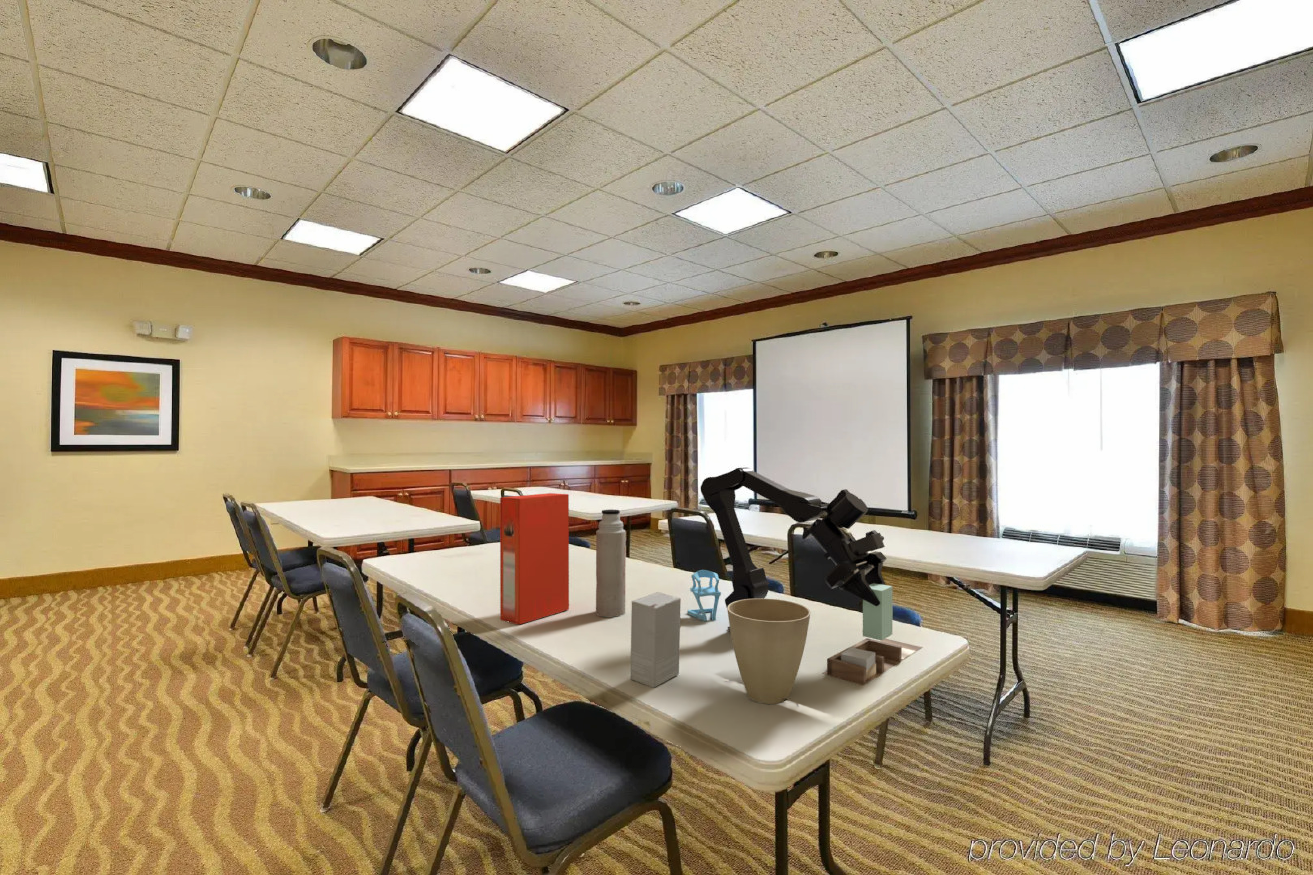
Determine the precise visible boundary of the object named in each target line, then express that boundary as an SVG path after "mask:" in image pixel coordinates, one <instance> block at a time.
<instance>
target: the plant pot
mask: <svg viewBox="0 0 1313 875" xmlns="http://www.w3.org/2000/svg"><path fill="white" fill-rule="evenodd" d="M726 609H727V616H728V624H729V627H730V630H729V631H730V637H731V641H732V647H733V652H734V656H735V660H736V663H737V666H738V672H739V674H740V676H741V681H742V683H743V687H744V690H745V692H746V694H747V696H748V698H749V699H750V700H752V701H754V702H756V703H760V704H765V705H777V704H783V703H785V702H786V701H787V699H788V698H787V697H788V696H790V695H791V692H792V690H793V687H794V684H795V682H796V678H797V675H798V672H799V669H800V666H801V662H802V658H803V655H804V650H805V648H806V647H805V646H806V644H807V643H806V642H807V637H808V631H809V625H810V617H811V611H810V609H809V608H807V607H806V606H804V605H803V604H801V603H798V602H797V603H796V602H793V601H791V600H790V601H789V600H784V599H777V598H764V599H760V598H756V599H744V600H739V601H735V602H732V603H731V604H729V605H728V607H726Z"/></svg>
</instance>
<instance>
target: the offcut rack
mask: <svg viewBox="0 0 1313 875" xmlns="http://www.w3.org/2000/svg"><path fill="white" fill-rule="evenodd" d="M850 647H852V648H856V649H861V650H866V651H870V652H875V663H876V674H875V675H873V676H872V677H870V678H868V679H867V680H866V667H863V666H859V665H856V664H852V663H848V662H845V661H841V654H842V653H843V652H844V651H846V650H847V649H849V648H850ZM921 649H924V648H923V646H919V645H915V644H909V643H906V642H902V641H897V640H894V639H888V638H885V639H884V640H877V639H873V638H869V637H865V638H864V639H862V640H861V641H859V642H857V643H855V644H853V645H851V646H848V647H847V648H845V649H843V650H841V651H840V652H837V653H836V654H834V655H832V656H830V657H828V658H827V659H826V670H825V671H823V672H822V673H821V674H823V675H826V676H830V677H833V678H836V679H839V680H844V681H847V682H849V683H853V684H857V685H861V686H864V685H866V684H867V683H869V682H871V681H872V680H874V679H876V678H877V677H879V676H880V675H882V674H883V673H886V672H887V671H889V670H890V669H892V668H893V667H895V666H896V665H897V664H899V663H901V662H902V661H904V660H906V659H908V657H910V656H912V655H913V654H915V653H916V652H918V651H920V650H921Z"/></svg>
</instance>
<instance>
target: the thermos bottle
mask: <svg viewBox="0 0 1313 875" xmlns="http://www.w3.org/2000/svg"><path fill="white" fill-rule="evenodd" d="M620 512H621V510H619V509H602V510H601V514H602V516H601V521H599V522H598V527H597V528H598V529H597V530H596V531H595V534H596V536H595V538H596V539H595V540H596V541H595V544H596V546H595V548H596V549H595V552H596V554H595V557H596V558H595V566H596V567H595V578H596V579H595V580H596V588H595V589H596V590H595V614H596V615H597V616H599V617H603V616H607V617H606V618H614V617H613V616H617V617H621V616H624V615H625V614H626V551H627V550H626V545H627V543H626V537H627V536H626V534H627V533H626V530H625V529H624V522H623V521H622V520H621V515H620Z"/></svg>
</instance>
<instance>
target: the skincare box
mask: <svg viewBox="0 0 1313 875" xmlns="http://www.w3.org/2000/svg"><path fill="white" fill-rule="evenodd" d="M681 604H682V603H681V598H680V597H677V596H673V595H670V594H666V593H663V592H659V591H657V592H653V593H651V594H648V595H646V596H642V597H639V598H636V599H634V600H631V622H630V624H631V625H630V630H631V631H630V676H629V677H630V680H633V681H635V682H638V683H641V684H643V685H645V686H648V685H649V687H652V688H655V687H656V688H657V686H660V685H661V684H663V683H665V682H667V681H669V680H670V679H672V678H674V677H676V676H678V675H679V674H680V646H681V645H680V644H681V643H680V641H681V639H680V638H681Z"/></svg>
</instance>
